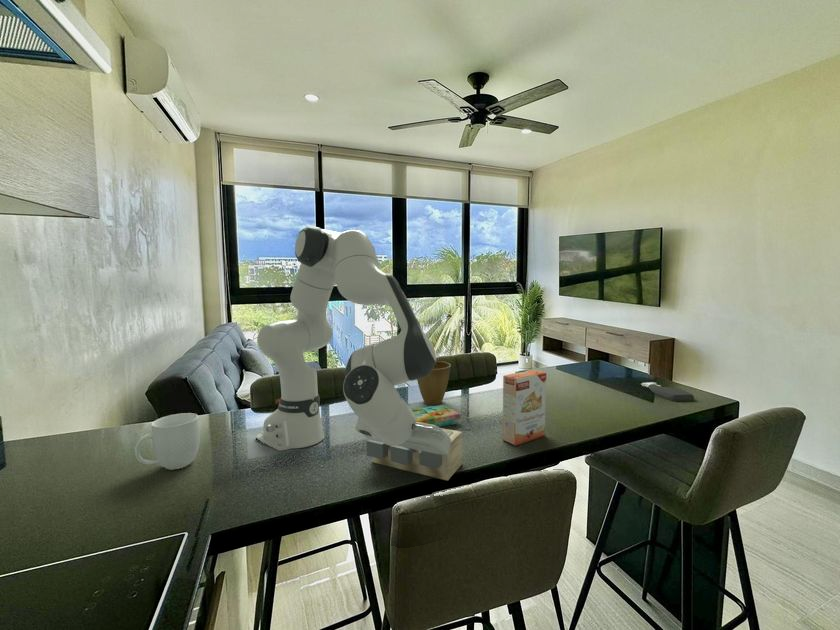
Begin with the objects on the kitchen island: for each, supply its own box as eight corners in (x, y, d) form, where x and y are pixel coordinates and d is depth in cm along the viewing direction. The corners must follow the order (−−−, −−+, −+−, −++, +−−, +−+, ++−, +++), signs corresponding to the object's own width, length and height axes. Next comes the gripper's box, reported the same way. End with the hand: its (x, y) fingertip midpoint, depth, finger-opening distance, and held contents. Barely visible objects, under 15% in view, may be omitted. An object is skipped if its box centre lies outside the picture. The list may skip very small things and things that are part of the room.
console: (372, 462, 105) (371, 429, 105) (391, 447, 114) (390, 417, 114) (447, 480, 95) (447, 444, 94) (462, 463, 104) (461, 430, 103)
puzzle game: (460, 412, 132) (407, 420, 125) (460, 425, 133) (407, 434, 125) (445, 402, 143) (395, 410, 136) (446, 414, 144) (396, 422, 136)
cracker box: (516, 447, 113) (516, 378, 112) (501, 440, 118) (501, 374, 117) (546, 436, 121) (547, 372, 119) (531, 430, 126) (532, 368, 124)
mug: (137, 484, 96) (132, 434, 95) (136, 467, 104) (133, 421, 103) (204, 466, 105) (201, 420, 104) (198, 452, 113) (195, 410, 112)
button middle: (390, 461, 97) (390, 446, 97) (395, 457, 99) (395, 442, 99) (407, 465, 95) (407, 449, 95) (412, 461, 97) (412, 446, 97)
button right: (419, 464, 95) (419, 449, 95) (424, 460, 97) (423, 445, 97) (437, 468, 93) (437, 453, 92) (441, 464, 95) (441, 449, 95)
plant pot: (407, 402, 158) (407, 364, 157) (433, 394, 168) (432, 359, 167) (432, 410, 147) (432, 370, 146) (458, 402, 157) (458, 364, 156)
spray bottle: (670, 402, 154) (635, 386, 178) (697, 401, 154) (658, 386, 178) (671, 395, 153) (635, 380, 178) (697, 394, 154) (658, 380, 178)
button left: (366, 455, 101) (366, 441, 100) (372, 451, 103) (371, 437, 103) (382, 459, 98) (382, 444, 98) (387, 455, 101) (387, 440, 100)
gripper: (443, 415, 75) (461, 444, 85) (360, 402, 85) (384, 429, 94) (434, 445, 72) (454, 472, 81) (348, 428, 81) (375, 453, 91)
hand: (416, 448), depth 88 cm, fingers closed
